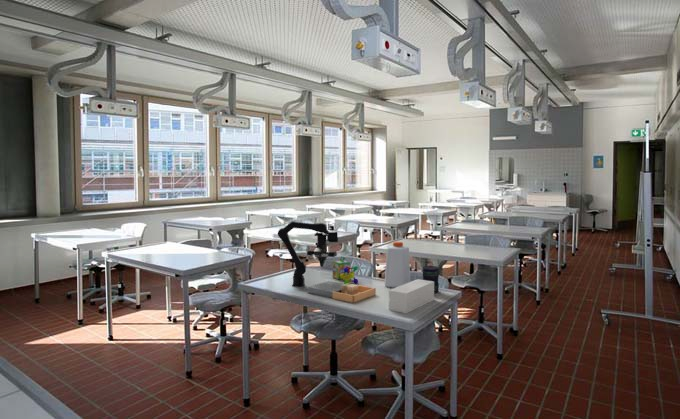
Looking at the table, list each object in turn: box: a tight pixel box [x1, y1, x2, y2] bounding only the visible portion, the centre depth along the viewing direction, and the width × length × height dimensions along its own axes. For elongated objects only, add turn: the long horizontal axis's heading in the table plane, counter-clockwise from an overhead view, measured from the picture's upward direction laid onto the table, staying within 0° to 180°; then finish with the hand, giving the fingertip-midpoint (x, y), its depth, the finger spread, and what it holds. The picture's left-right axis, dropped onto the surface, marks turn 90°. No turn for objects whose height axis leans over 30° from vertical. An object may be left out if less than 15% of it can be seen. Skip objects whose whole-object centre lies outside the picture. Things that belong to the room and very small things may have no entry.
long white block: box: [388, 278, 435, 314], centre depth 256 cm, size 32×11×11 cm, turn 143°
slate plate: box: [307, 280, 344, 299], centre depth 284 cm, size 20×20×4 cm
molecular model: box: [340, 265, 359, 284], centre depth 304 cm, size 12×7×12 cm, turn 130°
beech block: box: [341, 282, 359, 295], centre depth 275 cm, size 6×6×8 cm
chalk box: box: [332, 256, 351, 281], centre depth 320 cm, size 9×9×15 cm
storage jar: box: [422, 265, 440, 295], centre depth 284 cm, size 10×10×15 cm
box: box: [332, 284, 377, 304], centre depth 273 cm, size 15×22×4 cm
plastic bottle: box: [384, 241, 412, 289], centre depth 298 cm, size 15×15×28 cm
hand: (321, 266), depth 300 cm, fingers closed
